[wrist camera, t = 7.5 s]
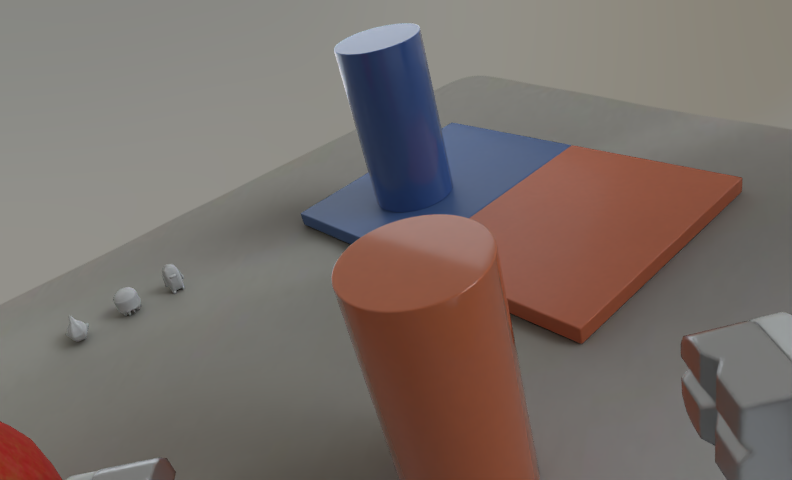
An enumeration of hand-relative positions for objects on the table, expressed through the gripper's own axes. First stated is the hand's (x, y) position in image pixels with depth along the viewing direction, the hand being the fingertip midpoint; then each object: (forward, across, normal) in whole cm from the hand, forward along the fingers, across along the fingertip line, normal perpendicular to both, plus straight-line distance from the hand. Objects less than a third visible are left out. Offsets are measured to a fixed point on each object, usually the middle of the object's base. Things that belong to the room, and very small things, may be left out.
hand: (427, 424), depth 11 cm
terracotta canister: (+11, 0, +15) cm, 19 cm away
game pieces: (+30, +19, +15) cm, 39 cm away
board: (+32, -6, +15) cm, 36 cm away
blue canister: (+35, -1, +14) cm, 38 cm away
